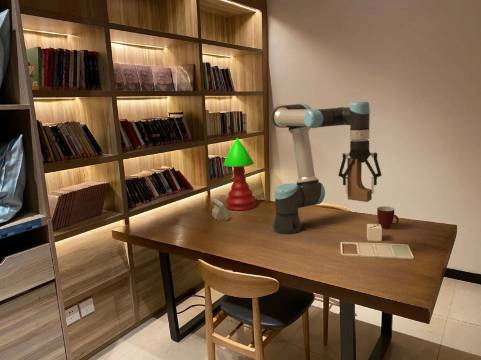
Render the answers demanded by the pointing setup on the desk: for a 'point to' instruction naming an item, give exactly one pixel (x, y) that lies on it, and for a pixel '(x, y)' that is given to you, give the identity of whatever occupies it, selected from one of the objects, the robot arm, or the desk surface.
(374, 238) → the die
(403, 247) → the track board
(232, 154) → the table lamp
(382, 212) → the mug
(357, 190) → the wooden block
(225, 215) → the grey lumpy piece
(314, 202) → the robot arm
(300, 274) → the desk surface
